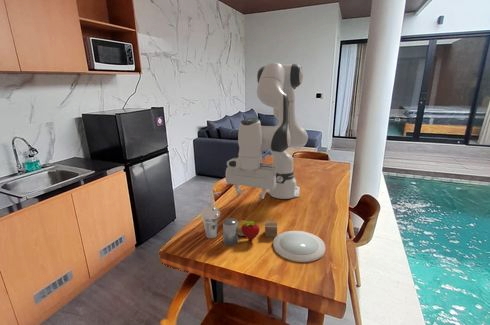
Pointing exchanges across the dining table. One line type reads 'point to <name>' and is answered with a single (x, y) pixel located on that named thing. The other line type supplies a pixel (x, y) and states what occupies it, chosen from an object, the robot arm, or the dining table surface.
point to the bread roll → (241, 227)
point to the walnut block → (270, 229)
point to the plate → (299, 246)
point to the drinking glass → (230, 231)
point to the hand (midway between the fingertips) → (250, 196)
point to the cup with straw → (210, 218)
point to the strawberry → (250, 230)
